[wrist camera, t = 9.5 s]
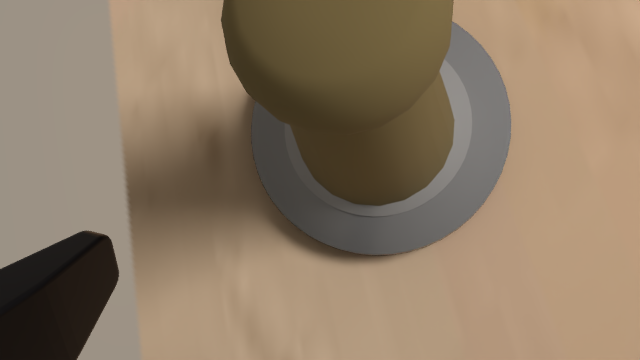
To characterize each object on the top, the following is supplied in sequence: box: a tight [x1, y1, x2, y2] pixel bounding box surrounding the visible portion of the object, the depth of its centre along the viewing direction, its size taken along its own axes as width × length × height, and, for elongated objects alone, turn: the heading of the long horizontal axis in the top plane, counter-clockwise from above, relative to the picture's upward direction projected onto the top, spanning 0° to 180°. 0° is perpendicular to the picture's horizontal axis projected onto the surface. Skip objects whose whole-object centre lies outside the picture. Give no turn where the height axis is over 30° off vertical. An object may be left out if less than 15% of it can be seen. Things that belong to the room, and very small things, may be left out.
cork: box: [221, 0, 455, 206], centre depth 17 cm, size 6×6×11 cm
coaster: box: [251, 22, 511, 256], centre depth 23 cm, size 10×10×1 cm
